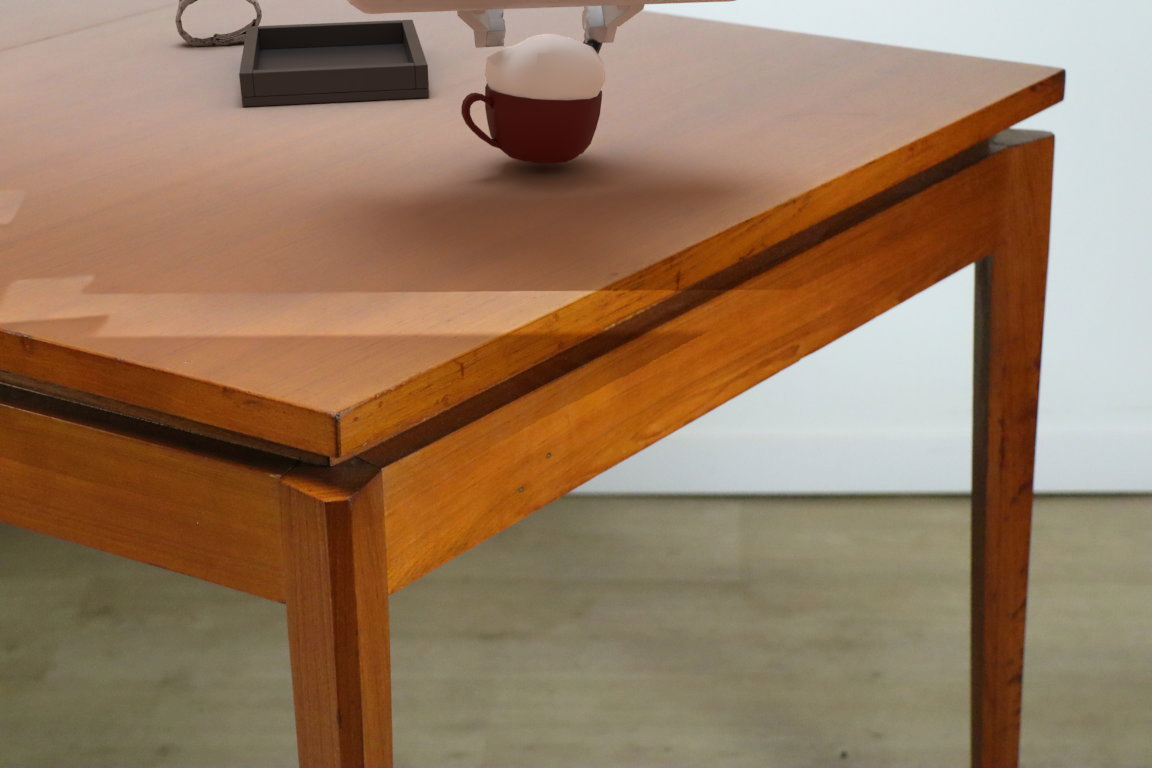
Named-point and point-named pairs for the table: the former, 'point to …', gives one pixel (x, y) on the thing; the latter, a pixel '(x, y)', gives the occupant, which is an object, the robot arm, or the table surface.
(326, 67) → the dark rectangular tray
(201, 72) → the table surface
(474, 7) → the robot arm
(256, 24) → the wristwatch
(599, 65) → the cocoa
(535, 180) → the table surface
